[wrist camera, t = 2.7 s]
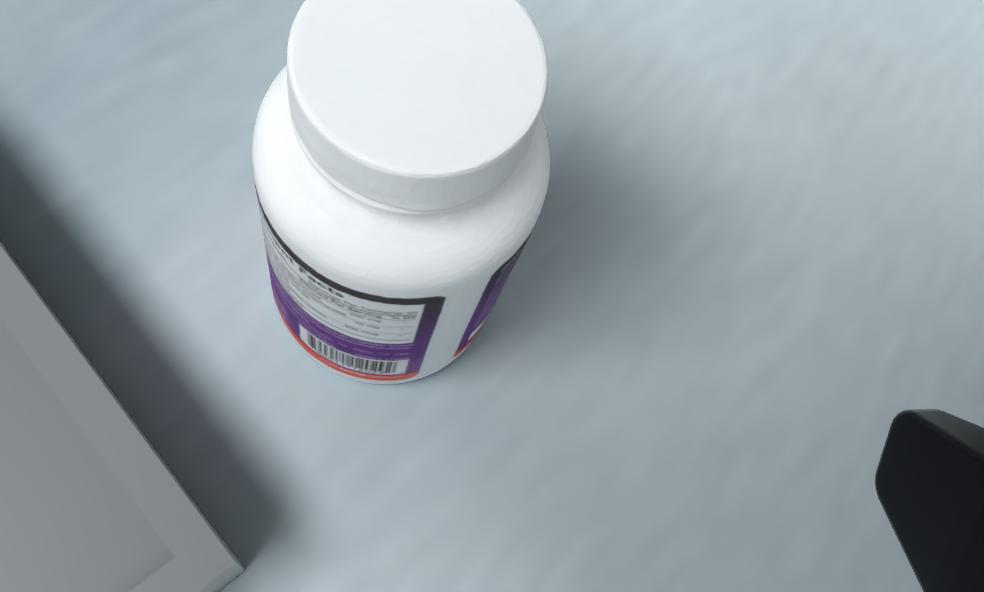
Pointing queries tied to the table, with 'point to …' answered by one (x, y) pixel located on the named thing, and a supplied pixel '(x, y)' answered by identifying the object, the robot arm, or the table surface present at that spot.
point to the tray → (85, 473)
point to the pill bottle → (399, 177)
